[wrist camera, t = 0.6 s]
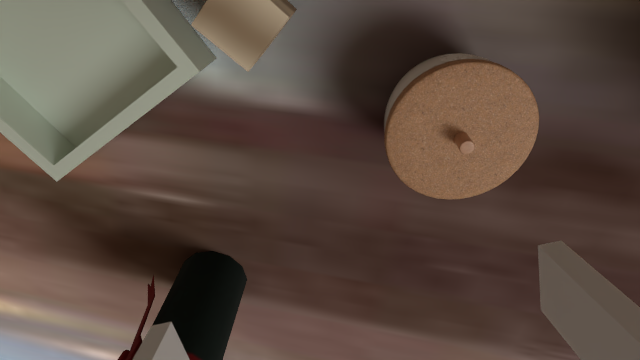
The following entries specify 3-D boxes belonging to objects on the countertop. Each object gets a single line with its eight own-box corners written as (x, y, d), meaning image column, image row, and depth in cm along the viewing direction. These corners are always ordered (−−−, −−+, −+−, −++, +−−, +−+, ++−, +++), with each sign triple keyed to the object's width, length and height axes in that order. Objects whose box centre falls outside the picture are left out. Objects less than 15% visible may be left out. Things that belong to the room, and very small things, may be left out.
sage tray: (39, -167, 26) (-13, -189, 22) (216, 58, 33) (199, 71, 29) (-89, -4, 32) (-148, 2, 28) (85, 159, 39) (56, 181, 35)
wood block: (246, -38, 30) (229, -36, 25) (296, 9, 31) (289, 17, 27) (211, 15, 32) (191, 25, 27) (260, 57, 33) (248, 71, 29)
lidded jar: (372, 49, 32) (383, 79, 24) (506, 30, 31) (564, 57, 23) (380, 161, 37) (391, 218, 29) (495, 150, 36) (539, 205, 28)
